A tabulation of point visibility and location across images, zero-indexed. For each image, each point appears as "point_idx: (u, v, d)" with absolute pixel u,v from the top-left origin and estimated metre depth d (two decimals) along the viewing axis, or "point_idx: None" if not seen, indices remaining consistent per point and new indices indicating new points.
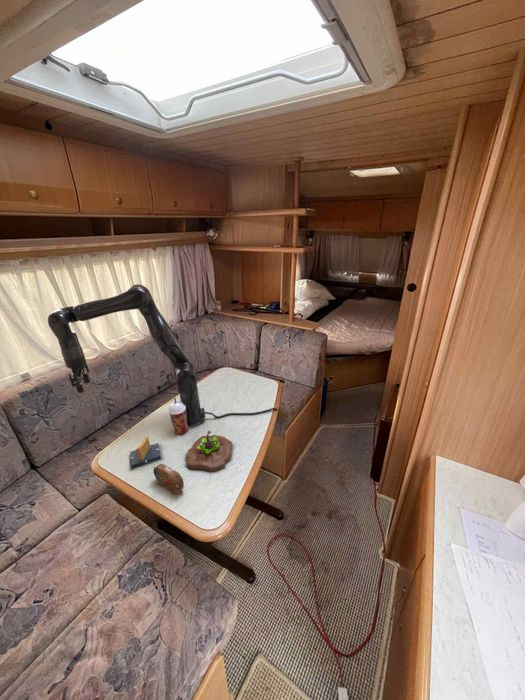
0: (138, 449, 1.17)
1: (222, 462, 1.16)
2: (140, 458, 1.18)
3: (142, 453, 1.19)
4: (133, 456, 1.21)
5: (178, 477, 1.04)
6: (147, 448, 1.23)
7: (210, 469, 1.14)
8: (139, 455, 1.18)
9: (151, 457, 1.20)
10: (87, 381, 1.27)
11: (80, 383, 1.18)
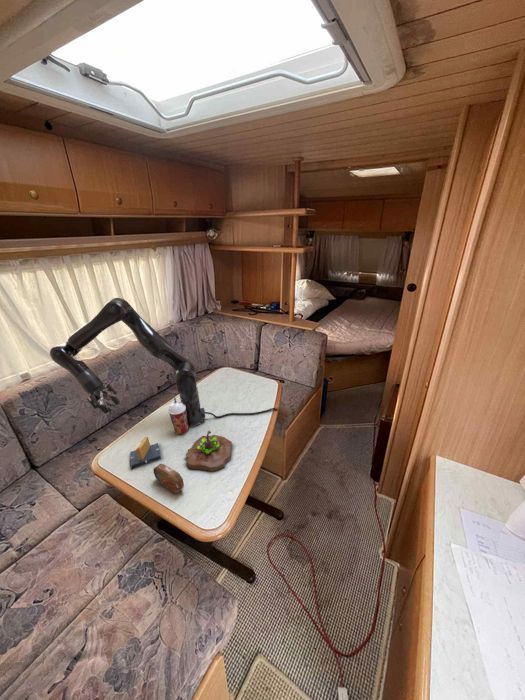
0: (138, 449, 1.17)
1: (222, 462, 1.16)
2: (140, 458, 1.18)
3: (142, 453, 1.19)
4: (133, 456, 1.21)
5: (178, 477, 1.04)
6: (147, 448, 1.23)
7: (210, 469, 1.14)
8: (139, 455, 1.18)
9: (151, 457, 1.20)
10: (117, 402, 1.30)
11: (101, 403, 1.21)
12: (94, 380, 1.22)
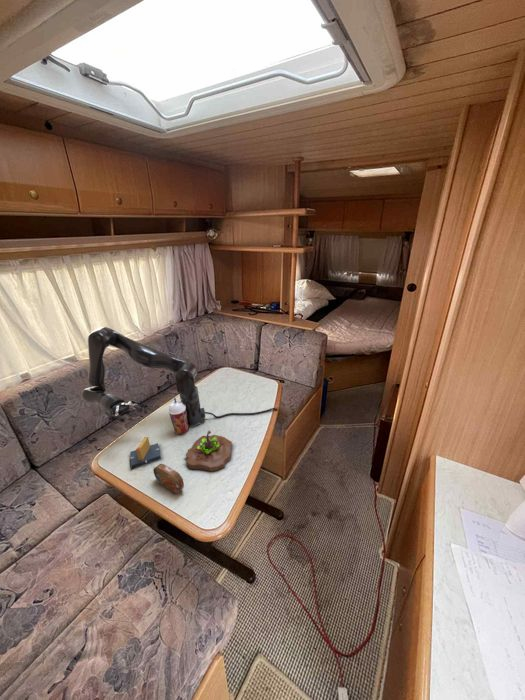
0: (138, 449, 1.17)
1: (222, 462, 1.16)
2: (140, 458, 1.18)
3: (142, 453, 1.19)
4: (133, 456, 1.21)
5: (178, 477, 1.04)
6: (147, 448, 1.23)
7: (210, 469, 1.14)
8: (139, 455, 1.18)
9: (151, 457, 1.20)
10: (139, 409, 1.26)
11: (115, 415, 1.21)
12: (109, 399, 1.28)
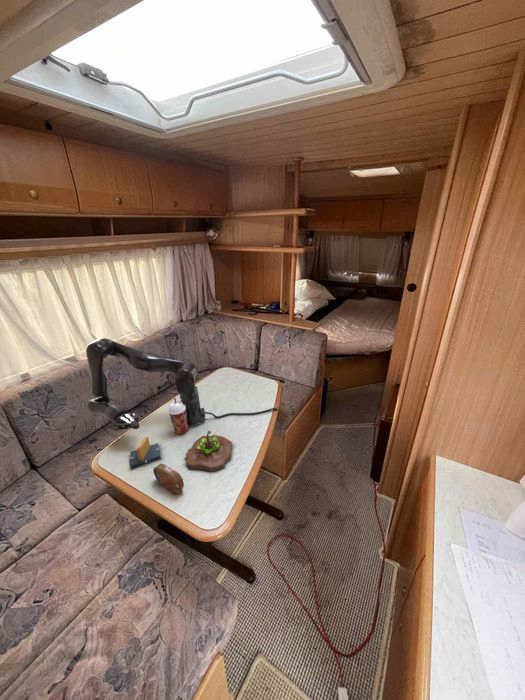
0: (138, 449, 1.17)
1: (222, 462, 1.16)
2: (140, 458, 1.18)
3: (142, 453, 1.19)
4: (133, 456, 1.21)
5: (178, 477, 1.04)
6: (147, 448, 1.23)
7: (210, 469, 1.14)
8: (139, 455, 1.18)
9: (151, 457, 1.20)
10: None
11: (128, 422, 1.25)
12: (113, 411, 1.30)
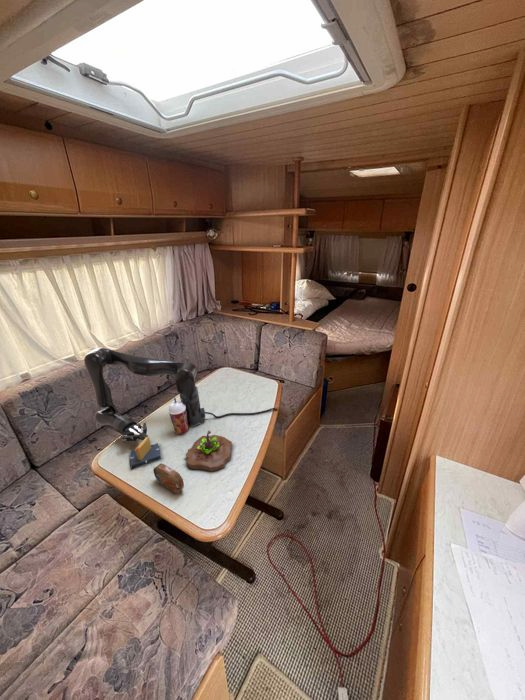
0: (137, 449, 1.17)
1: (222, 462, 1.16)
2: (139, 458, 1.19)
3: (141, 453, 1.19)
4: (133, 456, 1.21)
5: (178, 477, 1.04)
6: (147, 448, 1.23)
7: (210, 469, 1.14)
8: (138, 455, 1.18)
9: (151, 457, 1.20)
10: None
11: (137, 434, 1.25)
12: (121, 422, 1.30)
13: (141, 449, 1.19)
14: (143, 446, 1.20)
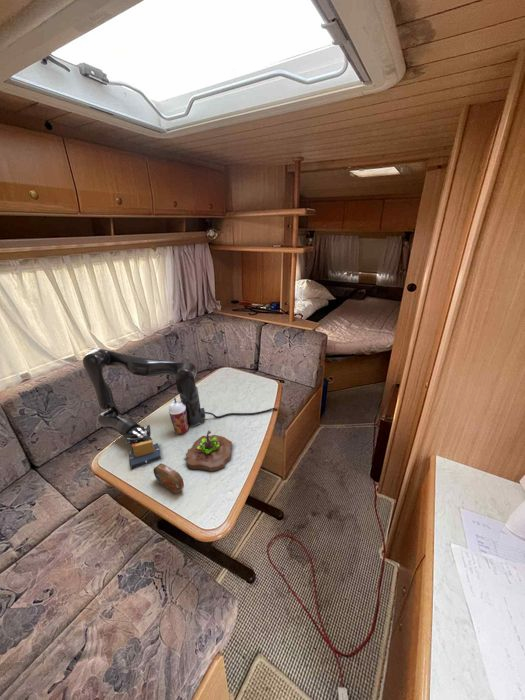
0: (133, 445, 1.19)
1: (222, 462, 1.16)
2: None
3: (136, 451, 1.20)
4: (133, 456, 1.21)
5: (178, 477, 1.04)
6: (147, 451, 1.22)
7: (210, 469, 1.14)
8: (134, 451, 1.20)
9: (151, 457, 1.20)
10: (148, 439, 1.23)
11: (141, 437, 1.23)
12: (125, 424, 1.28)
13: (137, 448, 1.19)
14: (141, 446, 1.20)
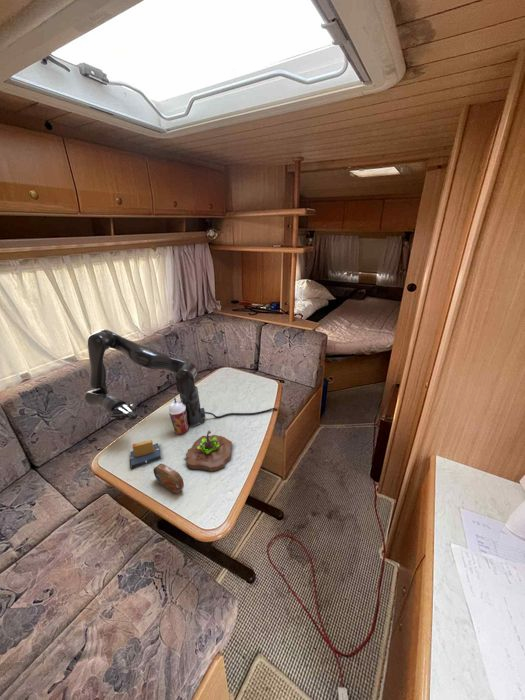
0: (133, 445, 1.19)
1: (222, 462, 1.16)
2: None
3: (136, 451, 1.20)
4: (133, 456, 1.21)
5: (178, 477, 1.04)
6: (147, 451, 1.22)
7: (210, 469, 1.14)
8: (134, 451, 1.20)
9: (151, 457, 1.20)
10: None
11: (126, 413, 1.23)
12: (110, 401, 1.28)
13: (137, 448, 1.19)
14: (141, 446, 1.20)
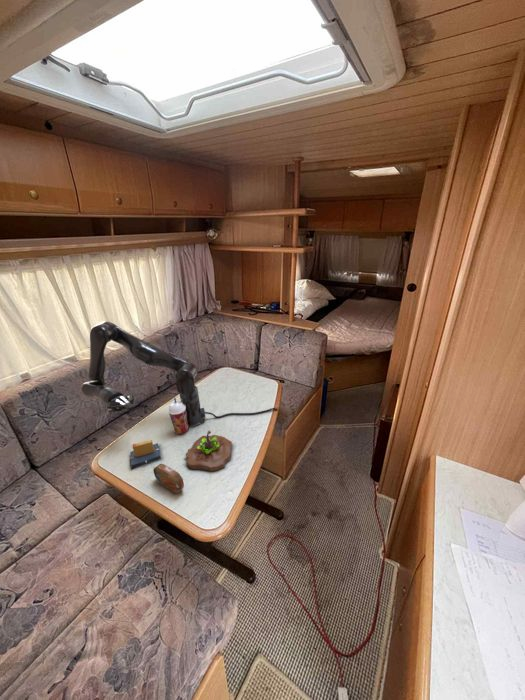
0: (133, 445, 1.19)
1: (222, 462, 1.16)
2: None
3: (136, 451, 1.20)
4: (133, 456, 1.21)
5: (178, 477, 1.04)
6: (147, 451, 1.22)
7: (210, 469, 1.14)
8: (134, 451, 1.20)
9: (151, 457, 1.20)
10: None
11: (123, 404, 1.21)
12: (107, 393, 1.26)
13: (137, 448, 1.19)
14: (141, 446, 1.20)
